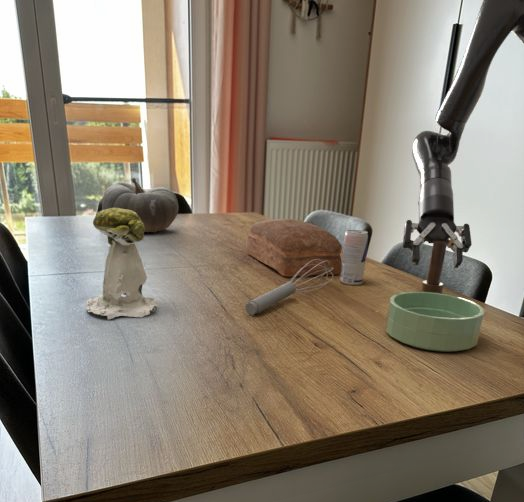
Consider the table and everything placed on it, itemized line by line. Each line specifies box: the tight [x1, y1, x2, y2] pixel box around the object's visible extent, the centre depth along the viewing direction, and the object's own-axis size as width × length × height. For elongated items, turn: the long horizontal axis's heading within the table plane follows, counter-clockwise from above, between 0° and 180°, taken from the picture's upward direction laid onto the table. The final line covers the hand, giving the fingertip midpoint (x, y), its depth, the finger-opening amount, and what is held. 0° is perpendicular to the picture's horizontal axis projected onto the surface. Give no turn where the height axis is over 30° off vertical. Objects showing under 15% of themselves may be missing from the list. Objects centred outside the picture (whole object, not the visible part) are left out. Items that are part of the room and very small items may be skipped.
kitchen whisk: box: [242, 259, 334, 318], centre depth 107 cm, size 6×34×6 cm, turn 147°
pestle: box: [420, 241, 447, 294], centre depth 112 cm, size 4×4×12 cm
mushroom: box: [85, 208, 158, 320], centre depth 93 cm, size 12×13×18 cm
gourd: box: [101, 177, 180, 233], centre depth 172 cm, size 25×25×17 cm
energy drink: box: [339, 229, 369, 286], centre depth 120 cm, size 5×5×12 cm
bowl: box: [385, 291, 486, 353], centre depth 89 cm, size 15×15×6 cm
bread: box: [245, 218, 343, 278], centre depth 136 cm, size 17×29×11 cm, turn 20°
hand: (436, 264), depth 111 cm, fingers open, 8 cm apart
